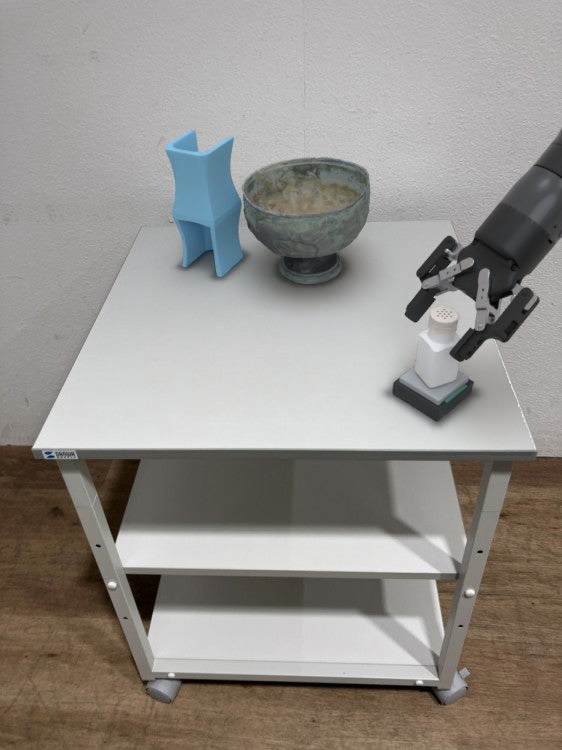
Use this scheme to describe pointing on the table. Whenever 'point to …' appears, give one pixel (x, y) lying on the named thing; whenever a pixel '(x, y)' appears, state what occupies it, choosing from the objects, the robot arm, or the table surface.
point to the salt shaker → (438, 348)
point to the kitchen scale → (432, 393)
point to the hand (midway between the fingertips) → (431, 338)
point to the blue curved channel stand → (205, 201)
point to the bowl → (307, 213)
